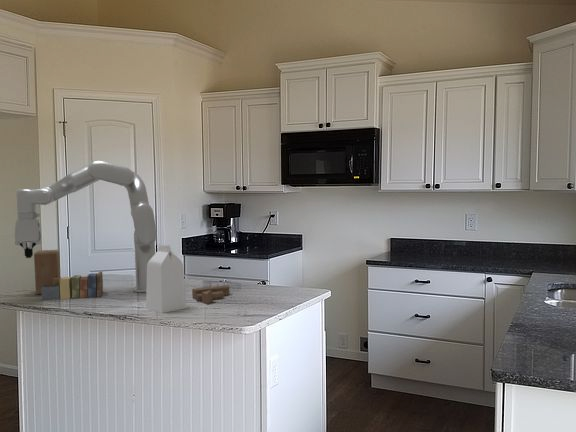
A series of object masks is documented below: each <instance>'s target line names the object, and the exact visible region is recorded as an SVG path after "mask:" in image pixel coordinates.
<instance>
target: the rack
mask: <svg viewBox="0 0 576 432" xmlns="http://www.w3.org/2000/svg"><path fill="white" fill-rule="evenodd" d="M71 277H72V297H71V298H72V299H75V300H76V299H91V297H94V298H101V296H102V294H104V284H103V283H104V281H103V278H104V277H103V271H99V272H98V273H97V272H95V273H89V274H87V276H82V275H81V274H80V275H79V274H77V275H76V274H75V275H73V276H71ZM61 278H62V277H60V278H53V285H55V284H60V279H61Z"/></svg>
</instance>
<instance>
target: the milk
mask: <svg viewBox="0 0 576 432" xmlns="http://www.w3.org/2000/svg"><path fill="white" fill-rule="evenodd" d="M157 247H158V249H157V251H155V255H154V256H153V257H152V258H151V259H150V260H149V262H148V264H147V292H145V293H146V296H145V297H146V301H145V302H146V304H145V308H146V309H147V310H150V311H154V312H157V313H161V314H165V313H168V312H174V311H179V310H183V309H187V307H188V305H187V296H186V283H185V272H184V263H183V261H182V260H181V259H180V258H179V257H178V256H177V255H175V254H174V252H172V249H171V245H170V244H162V243H161V244H158V246H157Z"/></svg>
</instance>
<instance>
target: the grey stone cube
mask: <svg viewBox="0 0 576 432" xmlns="http://www.w3.org/2000/svg"><path fill="white" fill-rule="evenodd" d="M41 293H42V294H41V301H55V300H57V301H58V300H61V299H60V284H55V285H44V286H42V287H41Z"/></svg>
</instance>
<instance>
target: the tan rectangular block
mask: <svg viewBox="0 0 576 432" xmlns="http://www.w3.org/2000/svg"><path fill="white" fill-rule="evenodd" d="M72 277H73V276H63V277H60V278H61V279H60V299H59V300H70V299H71V298H73V297H72Z"/></svg>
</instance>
